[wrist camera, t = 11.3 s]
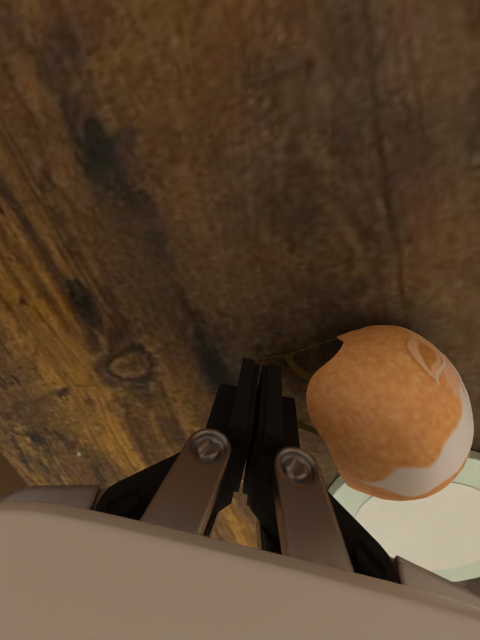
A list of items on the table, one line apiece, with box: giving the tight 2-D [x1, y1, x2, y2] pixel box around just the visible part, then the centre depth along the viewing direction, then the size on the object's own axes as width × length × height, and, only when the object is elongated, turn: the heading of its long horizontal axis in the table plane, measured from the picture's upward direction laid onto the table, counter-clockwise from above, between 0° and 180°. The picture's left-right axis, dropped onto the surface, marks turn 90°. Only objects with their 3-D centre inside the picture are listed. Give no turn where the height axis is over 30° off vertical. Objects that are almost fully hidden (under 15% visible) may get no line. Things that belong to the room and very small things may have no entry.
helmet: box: [258, 325, 474, 501], centre depth 11 cm, size 6×7×8 cm
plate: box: [328, 450, 480, 582], centre depth 16 cm, size 12×12×1 cm
